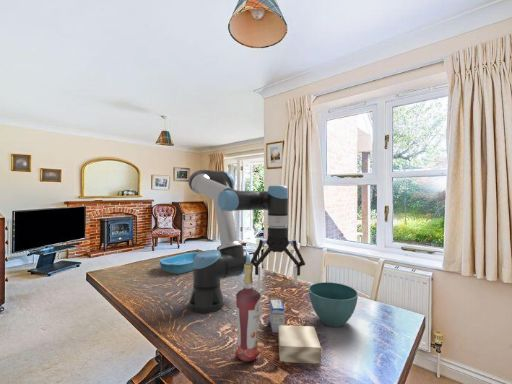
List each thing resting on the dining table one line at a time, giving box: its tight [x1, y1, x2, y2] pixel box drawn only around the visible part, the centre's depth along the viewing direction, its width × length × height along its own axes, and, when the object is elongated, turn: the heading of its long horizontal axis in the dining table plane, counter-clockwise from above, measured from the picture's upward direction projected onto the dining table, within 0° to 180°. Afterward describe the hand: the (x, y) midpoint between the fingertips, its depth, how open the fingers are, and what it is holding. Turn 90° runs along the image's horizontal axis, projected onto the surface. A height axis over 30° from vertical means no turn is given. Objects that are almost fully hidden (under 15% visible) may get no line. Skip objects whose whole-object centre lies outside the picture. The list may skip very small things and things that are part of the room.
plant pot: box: [308, 281, 359, 328], centre depth 100 cm, size 18×18×12 cm
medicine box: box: [269, 299, 286, 333], centre depth 95 cm, size 8×4×9 cm, turn 5°
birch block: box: [277, 324, 322, 364], centre depth 81 cm, size 12×12×5 cm
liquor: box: [235, 263, 261, 363], centre depth 77 cm, size 7×7×28 cm
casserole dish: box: [159, 252, 199, 275], centre depth 170 cm, size 37×22×7 cm, turn 149°
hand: (277, 284), depth 95 cm, fingers open, 13 cm apart
